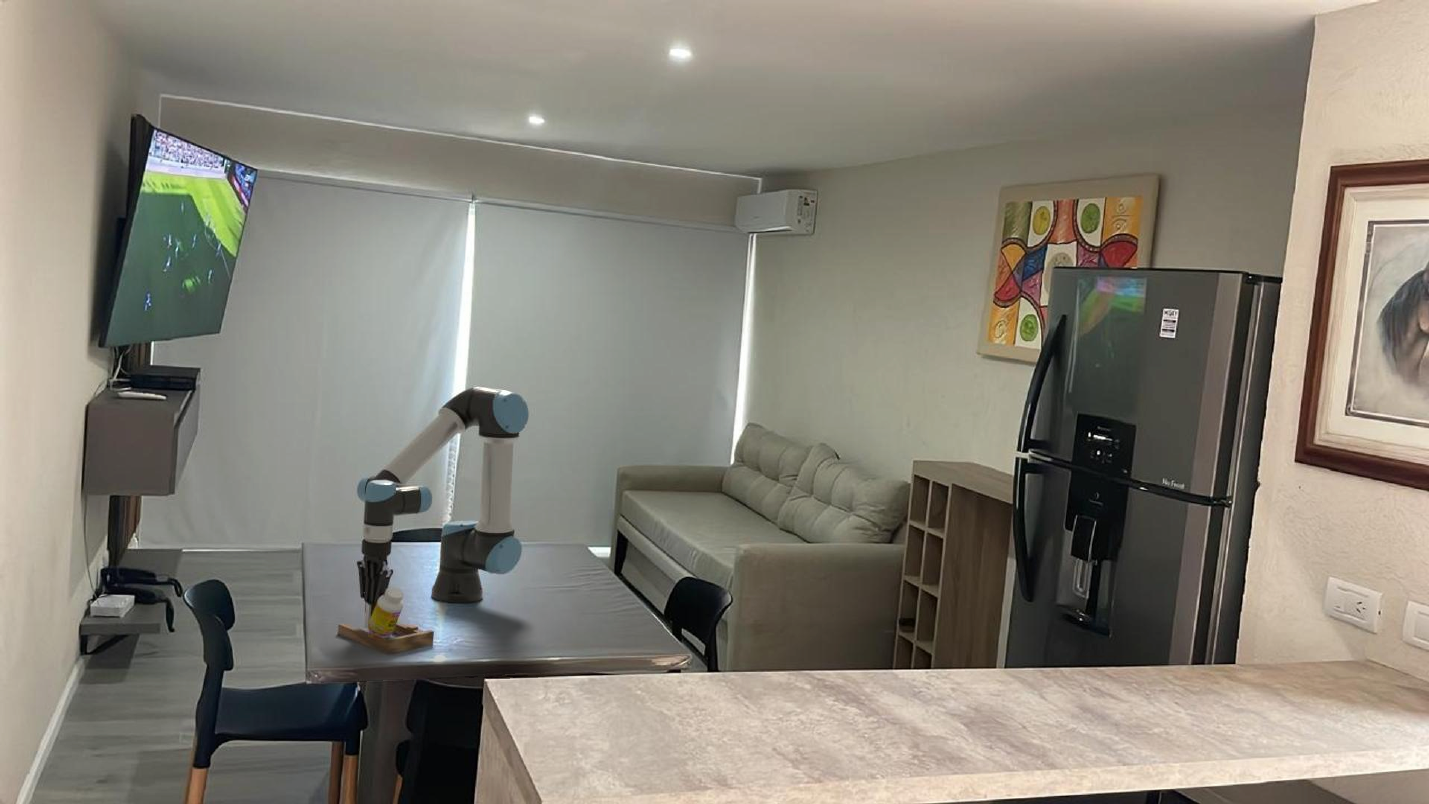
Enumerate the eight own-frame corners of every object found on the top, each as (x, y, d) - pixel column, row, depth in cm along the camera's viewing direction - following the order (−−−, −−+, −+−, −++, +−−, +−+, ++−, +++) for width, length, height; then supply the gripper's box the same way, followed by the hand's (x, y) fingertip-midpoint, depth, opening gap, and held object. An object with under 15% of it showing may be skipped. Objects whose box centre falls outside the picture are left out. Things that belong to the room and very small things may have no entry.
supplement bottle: (383, 643, 296) (399, 603, 292) (362, 631, 296) (377, 591, 292) (396, 631, 302) (411, 593, 298) (375, 620, 303) (390, 581, 298)
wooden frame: (382, 624, 310) (383, 612, 310) (433, 644, 297) (434, 631, 297) (337, 633, 298) (338, 620, 298) (387, 654, 286) (388, 641, 285)
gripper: (350, 535, 300) (343, 622, 302) (379, 546, 292) (373, 635, 294) (374, 533, 306) (367, 618, 308) (404, 543, 298) (397, 630, 300)
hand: (370, 626), depth 301 cm, fingers closed
